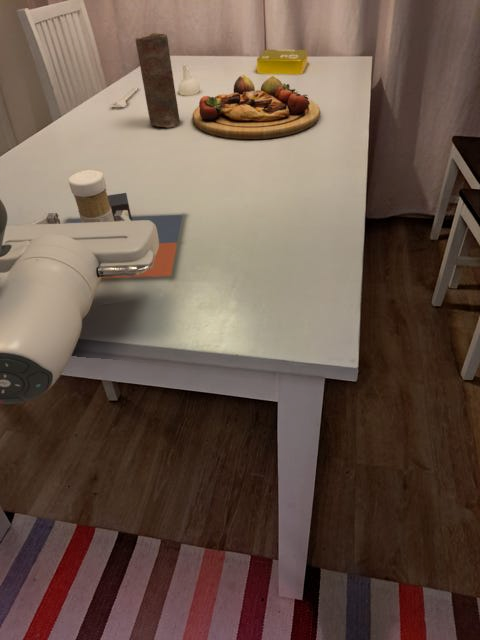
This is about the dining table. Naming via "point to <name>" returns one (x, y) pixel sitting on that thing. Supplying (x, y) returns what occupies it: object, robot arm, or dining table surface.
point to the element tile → (282, 62)
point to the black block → (119, 203)
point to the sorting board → (167, 244)
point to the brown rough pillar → (158, 80)
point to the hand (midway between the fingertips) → (88, 216)
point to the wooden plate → (256, 111)
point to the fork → (124, 99)
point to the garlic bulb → (188, 84)
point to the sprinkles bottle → (91, 196)
